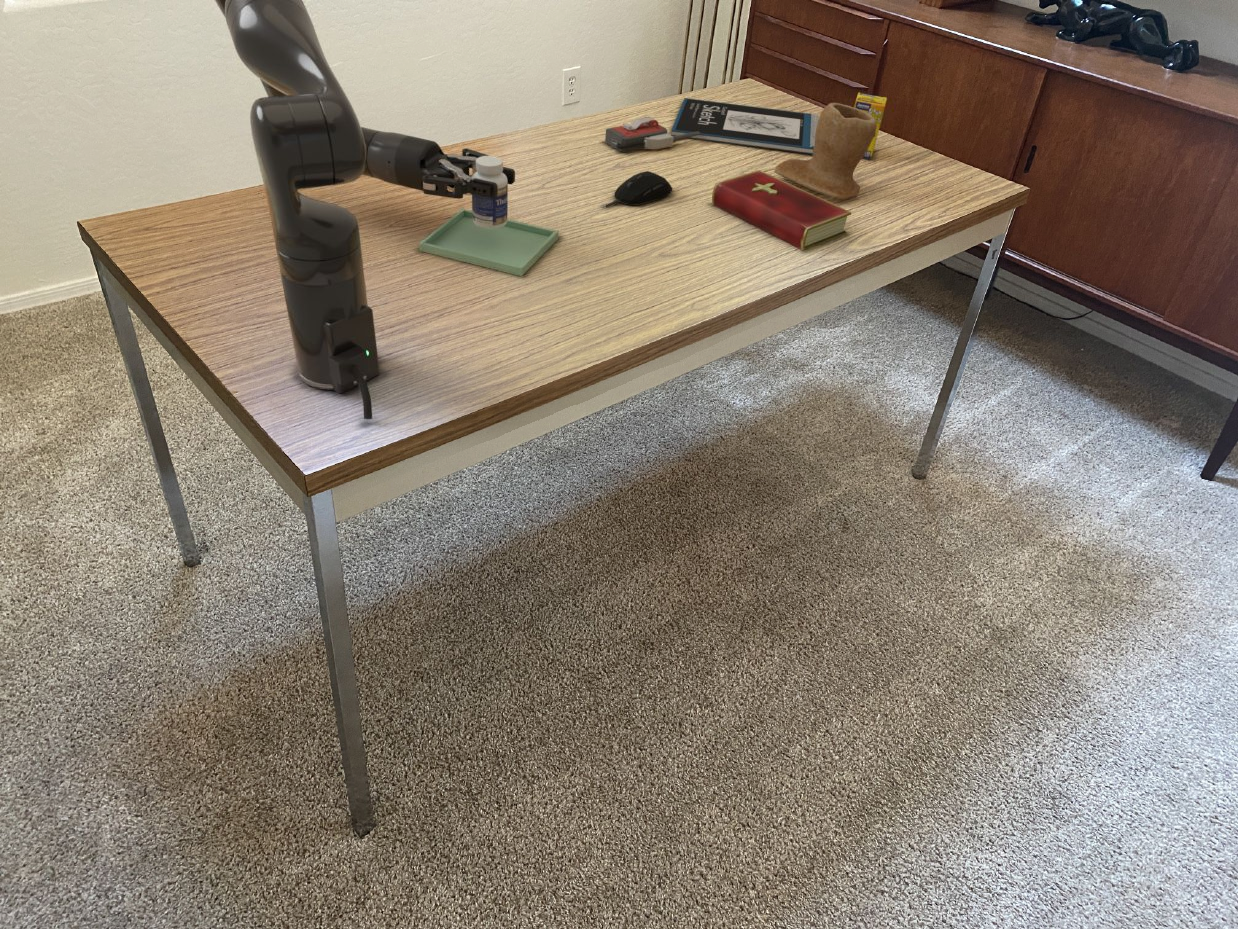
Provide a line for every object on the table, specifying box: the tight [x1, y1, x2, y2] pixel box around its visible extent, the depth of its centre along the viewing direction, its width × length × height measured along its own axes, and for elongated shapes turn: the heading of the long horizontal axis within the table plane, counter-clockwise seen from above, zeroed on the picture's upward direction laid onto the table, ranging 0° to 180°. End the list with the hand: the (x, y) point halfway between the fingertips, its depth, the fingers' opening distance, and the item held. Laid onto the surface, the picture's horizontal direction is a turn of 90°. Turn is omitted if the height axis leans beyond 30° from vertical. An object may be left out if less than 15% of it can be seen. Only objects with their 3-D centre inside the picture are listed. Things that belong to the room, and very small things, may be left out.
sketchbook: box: [670, 97, 820, 156], centre depth 191 cm, size 22×30×2 cm
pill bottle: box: [471, 155, 509, 229], centre depth 136 cm, size 5×5×10 cm
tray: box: [418, 208, 559, 277], centre depth 141 cm, size 17×14×1 cm
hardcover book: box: [711, 169, 853, 252], centre depth 155 cm, size 12×21×4 cm, turn 42°
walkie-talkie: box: [604, 116, 700, 153], centre depth 179 cm, size 9×4×20 cm
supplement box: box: [853, 92, 888, 161], centre depth 181 cm, size 6×6×11 cm
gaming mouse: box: [605, 170, 673, 208], centre depth 158 cm, size 6×15×4 cm, turn 133°
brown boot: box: [773, 102, 877, 200], centre depth 165 cm, size 15×12×15 cm
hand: (505, 183), depth 134 cm, fingers closed on pill bottle, 5 cm apart
